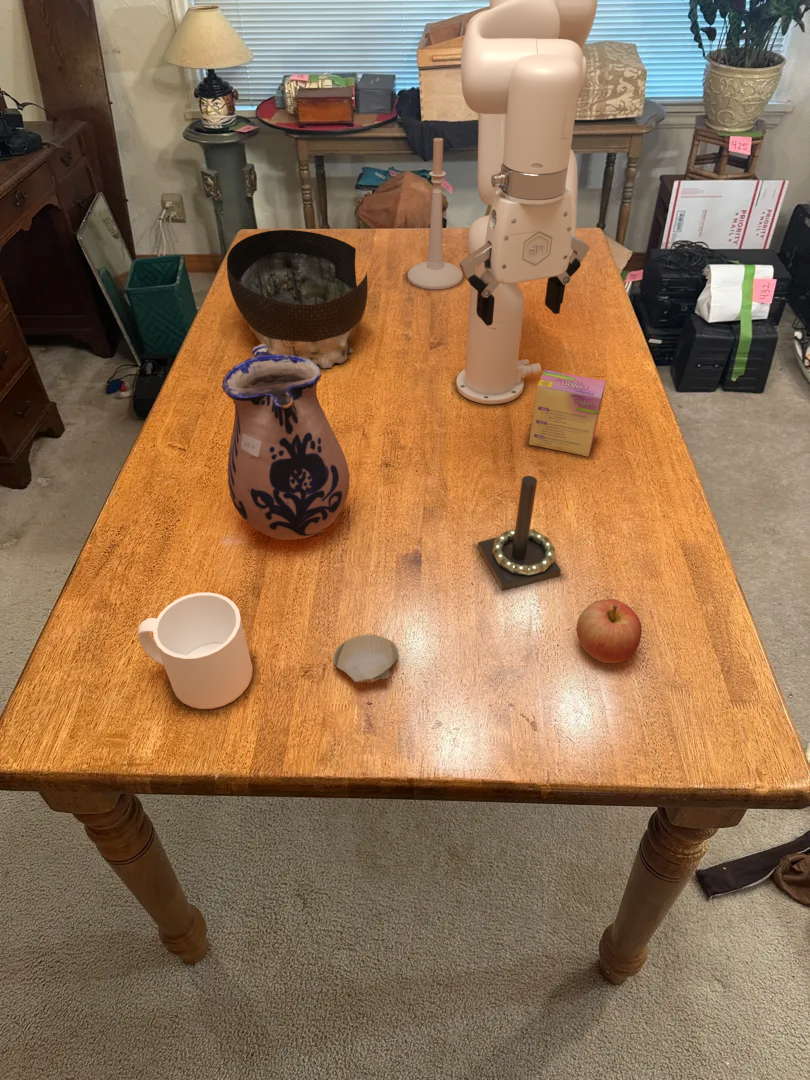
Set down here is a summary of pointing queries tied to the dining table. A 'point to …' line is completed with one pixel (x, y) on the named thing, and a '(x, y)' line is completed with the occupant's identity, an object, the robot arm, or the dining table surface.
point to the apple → (609, 631)
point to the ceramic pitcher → (283, 448)
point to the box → (566, 412)
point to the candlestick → (436, 237)
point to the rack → (519, 545)
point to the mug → (200, 649)
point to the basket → (298, 293)
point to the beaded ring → (521, 568)
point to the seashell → (366, 657)
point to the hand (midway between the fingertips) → (518, 314)
